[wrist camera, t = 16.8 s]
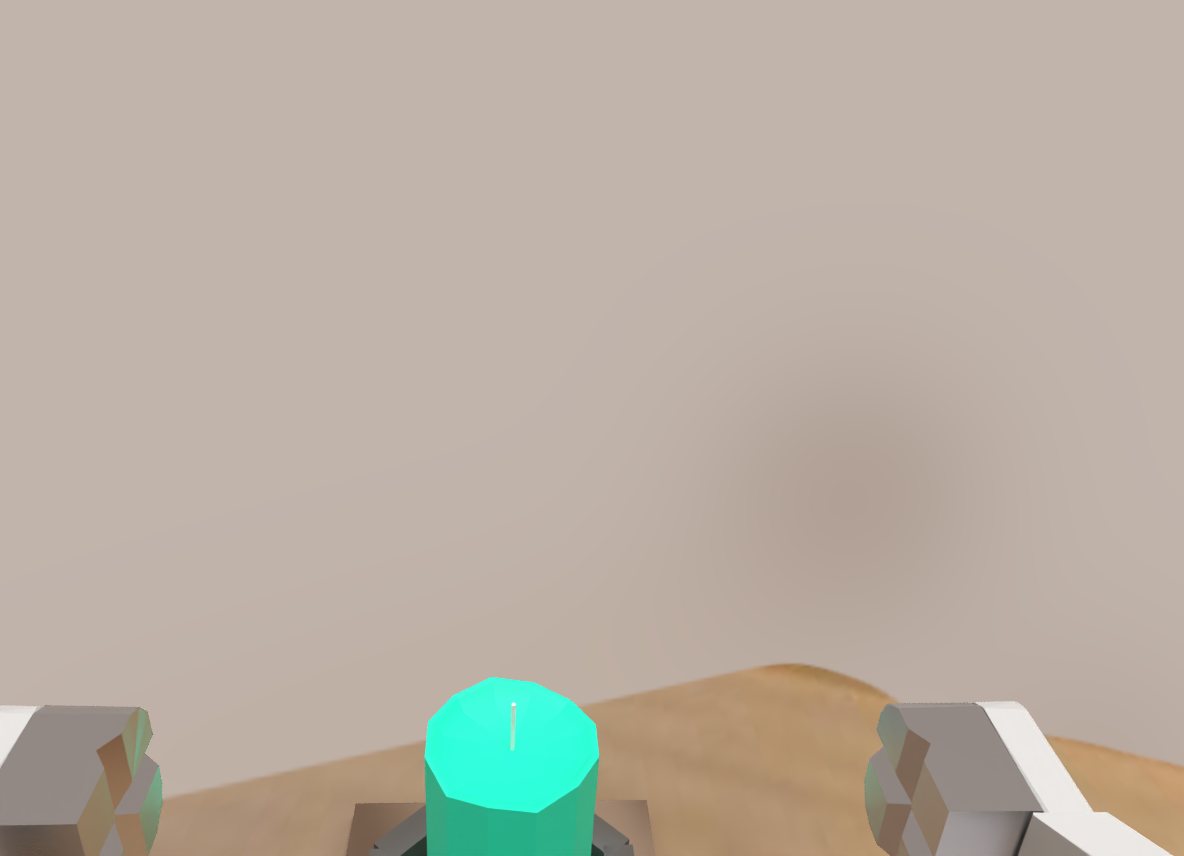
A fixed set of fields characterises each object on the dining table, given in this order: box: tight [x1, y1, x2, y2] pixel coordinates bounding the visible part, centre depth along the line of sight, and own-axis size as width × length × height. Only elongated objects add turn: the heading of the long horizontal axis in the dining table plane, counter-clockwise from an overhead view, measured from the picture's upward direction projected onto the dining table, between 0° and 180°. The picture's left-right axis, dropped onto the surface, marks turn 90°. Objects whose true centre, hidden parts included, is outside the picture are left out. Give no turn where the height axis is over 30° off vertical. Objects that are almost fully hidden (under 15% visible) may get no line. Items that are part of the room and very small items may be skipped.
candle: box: [425, 677, 599, 856], centre depth 35 cm, size 6×6×12 cm
